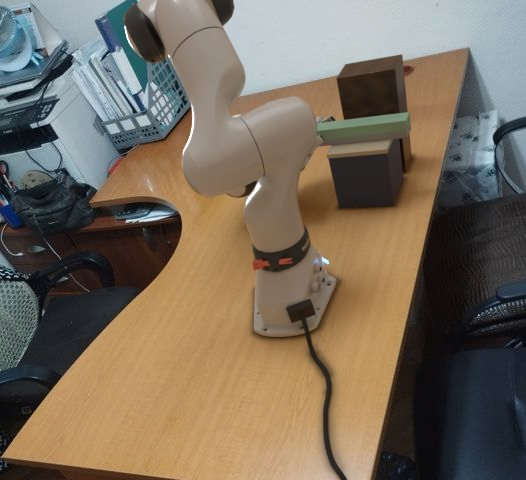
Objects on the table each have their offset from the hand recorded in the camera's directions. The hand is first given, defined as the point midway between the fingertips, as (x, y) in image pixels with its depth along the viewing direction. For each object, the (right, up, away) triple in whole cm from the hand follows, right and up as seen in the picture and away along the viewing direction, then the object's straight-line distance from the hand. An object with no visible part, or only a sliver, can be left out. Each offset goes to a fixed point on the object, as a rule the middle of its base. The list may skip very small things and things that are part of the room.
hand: (327, 127), depth 122 cm
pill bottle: (-22, +19, +55) cm, 62 cm away
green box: (+8, -3, -1) cm, 9 cm away
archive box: (+12, -13, +9) cm, 20 cm away
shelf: (+17, -3, +17) cm, 24 cm away
